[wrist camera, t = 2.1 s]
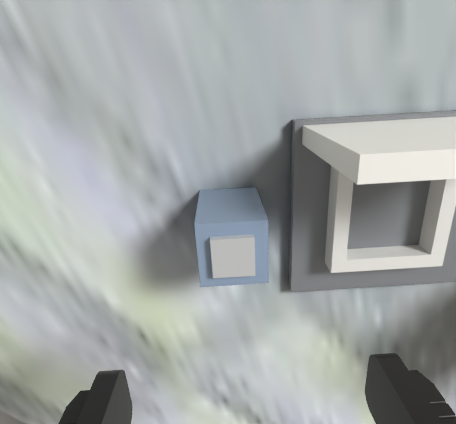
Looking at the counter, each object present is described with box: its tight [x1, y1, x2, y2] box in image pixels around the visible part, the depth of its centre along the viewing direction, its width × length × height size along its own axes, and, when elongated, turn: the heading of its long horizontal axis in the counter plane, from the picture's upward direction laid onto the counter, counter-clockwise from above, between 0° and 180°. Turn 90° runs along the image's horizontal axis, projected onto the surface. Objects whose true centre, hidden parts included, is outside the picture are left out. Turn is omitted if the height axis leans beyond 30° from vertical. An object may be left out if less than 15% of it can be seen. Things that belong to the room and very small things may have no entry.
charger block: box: [194, 187, 269, 287], centre depth 21 cm, size 4×4×6 cm
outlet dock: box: [289, 110, 456, 292], centre depth 19 cm, size 13×13×10 cm
